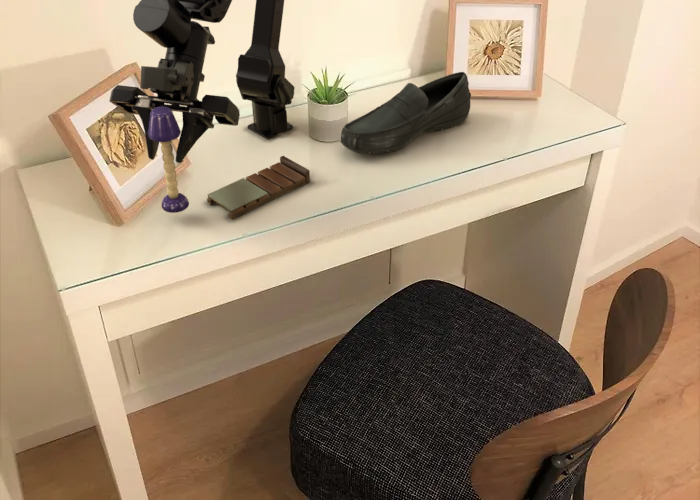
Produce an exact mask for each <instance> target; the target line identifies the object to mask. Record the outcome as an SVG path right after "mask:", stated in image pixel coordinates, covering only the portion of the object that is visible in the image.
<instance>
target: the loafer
mask: <svg viewBox="0 0 700 500" xmlns="http://www.w3.org/2000/svg"><path fill="white" fill-rule="evenodd" d="M469 84H470V83H469V78H468V75H467V73H466V72H464V71H459V72H454V73H450V74H447V75H445V76H442V77H439V78H436V79H434V80H432V81H429V82H427V83H425V84H424V85H421V86H417V85H416V84H414V83H412V82H408V83H407V84H406V85H405V86H404V87H403V88H402V89H401V90H400V91H399V92H398V93H396V94H395V95H394V96H392V97H391V98H390V99H389V100H388V101H386V102H384V103H382V104H381V105H379V106H377V107H376V108H374V109H372V110H371V111H369V112H366V113H365V114H364V115H362V116H359V117H358V118H356V119H353V120H352V121H350V122H347V123H345V125H344V126H343V127H342V129H341V132H340V144H342V145H343V146H344V147H345V148H346V149H347V150H350V151H351V152H355V153H358V154H367V155H368V154H385V153H388V152H389V153H392V152H396V151H398V150H400V149H402V148H404V147H406V146H407V145H408V144H410V143H411V142H412V141H414V140H415V139H416V138H417V137H418V136H420V135H421V134H423V133H427V132H429V133H430V132H440V131H442V130H448V129H451V128H454V127H455V126H459V125H461V124H463V123H464V122H466V120H467V118H469V117H468V116H469V114H470V110H471V98H472V97H471V96H472V93H471V92H470V87H469Z"/></svg>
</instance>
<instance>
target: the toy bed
mask: <svg viewBox="0 0 700 500" xmlns="http://www.w3.org/2000/svg"><path fill="white" fill-rule="evenodd" d="M310 183H311V173H310V169H308V168H307V167H305V166H303V165H301V164H300V163H298V162H296V161H294V160H292V159H290V158H288V157H287V156H285V155H281V156H279V161H278V162H276V163H274V164H271V165H270V166H269V167H266V168H263V169H261V170H259V171H257V172H254V173H251V174H250V175H247V176H246V177H245V178H244V177H242V178H240V179H238V180H236V181H233V182H232V183H230V184H227V185H225V186H222V187H220V188H218V189H217V190H213V191H212V192H209V193H208V194H207V197H206V201H207V204H208V205H210V206H213V205H215V204H217V205H219V206H220V207H222V208H223V209H224V210H226V211H228V212H227V213H228V218H229V219H231V220H232V221H233V220H235V219H237V218H239V217H241V216H243V215H245V214H247V213H249V212H251V211H253V210H255V209H257V208H259V207H261V206H263V205H266V204H267V203H270V202H272V201H274V200H276V199H278V198H280V197H282V196H284V195H286V194H288V193H290V192H292V191H294V190H296V189H298V188H301V187H302V186H304V185H308V184H310Z"/></svg>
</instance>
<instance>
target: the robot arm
mask: <svg viewBox="0 0 700 500" xmlns="http://www.w3.org/2000/svg"><path fill="white" fill-rule="evenodd" d="M232 2H233V0H140V1H139V2H138V4H137V5H135V7H134V9H133V14H132V18H133V24H134V26H135V27H136V28H137V29H138V30H140V31H141V32H142V33H144V35H146V36H147V37H149V38H150V39H151V40H153V41H154V42H155V43H157V44H158V45H159V46H160V47H163V48H165V49H166V50H165V56H164V58H159V59H160V60H159V61H158V64H157V66H147V65H146V66H145V65H141V66H140V88H139V87H138V86H131V85H120V84H117V85H116V86H115V87H113V88H112V90H111V92H110V95H109V101H108V102H109V103H111V104H113V105H114V106H115V107H116V108H118V109H120V111H122V112H124V113H127V114H130V115H137V116H139V118H140V120H141V123H142V126H143V130H144V137H145V144H146V149H147V157H148V159H150V160H152V161H153V160H155V157H156V155H157V153H158V149H159V146H160V142H156V141H153V140H151V139H150V138H149V136H148V129H149V121H150V114H151V111H152V110H153V109H154V108H156V107H162V106H163V107H168V108H170V109H171V110H172V112H177V113H182V128H181V130H180V135H179V140H178V144H177V148H176V154H175V163H177V164H181V163H182V162H183V161H184V159H185V157H187V155H188V153H189V152H190V151H191V150H192V149H193V147H194V145H195V144H196V143H197V142H198V141H199V139H201V137H202V136H203V135H204V134H205V132H207V131H208V129H214V128H215V124H214V123H213V121H214V119H215V120H216V121H217V123H218V124H219V125H224V126H233V127H236V126H239V121H240V115H241V113H240V109H239V108H238V106H237V105H236V104H235V103H234V102H233V101H232V100H231V99H230V98H229V97H228V96H225V95H214V94H204V96H203V97H202V98H201V100H199V99H198V94H199V89H200V84H201V83H204V82H205V77H206V76H205V74H204V73H203V69H204V63H205V59H206V54H207V49H208V45H215V44H216V40H215V37H214V35H213V33H212V32H211V29H210V27H209V26H205V25H204V26H203V25H202V24H200V23H199V22H198V21H201V22H207V23H212V24H217V23H221V22H222V21H223V19H224V18H225V17H226V15H227V13H228V12H229V8H230V6H231V4H232ZM284 7H285V0H255V7H254V16H253V26H252V34H251V42H250V43H251V44H250V46H249V48H248V49H247V50H246V52H245V53H244V54H242V53H241V54H239V56H238V59H237V70H236V74H235V79H236V80H235V82H236V86H237V88H238V91H239V94H240V96H241V99H242V100H244V101H250V102H251V108H252V118H253V122H252V123H250V124H248V125H247V129H248V130H250V131H252V132H254V133H255V134H257V135H258V136H260V137H263V138H264V139H266V140H270V139H272V138H274V137H276V136H279V135H282V134H284V133H286V132H288V131H290V130H293V129H294V125H293V124H291V123H289V122H288V113H287V112H288V111H287V108H286V106H288V105H289V106H290V105H291V104H292V103H293V101H292V100H293V99H294V97H295V86H294V85H293V83H291V82H290V81H289V80H288V79H287V78H286V64H285V63H284V62H285V61H284V59H283V57H282V54H281V52H280V50H279V49H280V39H281V31H282V25H283V24H282V22H283V15H284ZM143 90H149V91H150V92H151V93H152V94H156V95H148V94H147V93H146V92H145V91H143Z"/></svg>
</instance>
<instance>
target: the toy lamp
mask: <svg viewBox="0 0 700 500" xmlns="http://www.w3.org/2000/svg"><path fill="white" fill-rule="evenodd" d="M180 135H181V128H180V126H179V124H178V121H177V119H176V117H175V114H174V111H172V110H171V109H170V108H168V107H163V106H162V107H156V108H154V109H153V110H152V111H151V114H150V121H149V129H148V136H149V138H150V139H151V140H153V141H156V142H159V144H160V151H161V153H162V156H161V157H162V161H163V169H164V177H165V179H166V181H165V185H166V188H167V190H166V192H167V193H166V194H165V196H164V197H163V199H162V201H161V209H162V210H163V211H164V212H166V213H169V214H175V213H180V212H183V211H185V210H187V209H188V207H189V206H190V202H189V199H188V198H187V196H186V195H185V194H184V193H181V192H180V191H179V188H178V180H177V177H178V175H177V171H176V162H175V155H174V153H173V152H174V148H173V144H172V141H175V140H177V139H178V138H180Z"/></svg>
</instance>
